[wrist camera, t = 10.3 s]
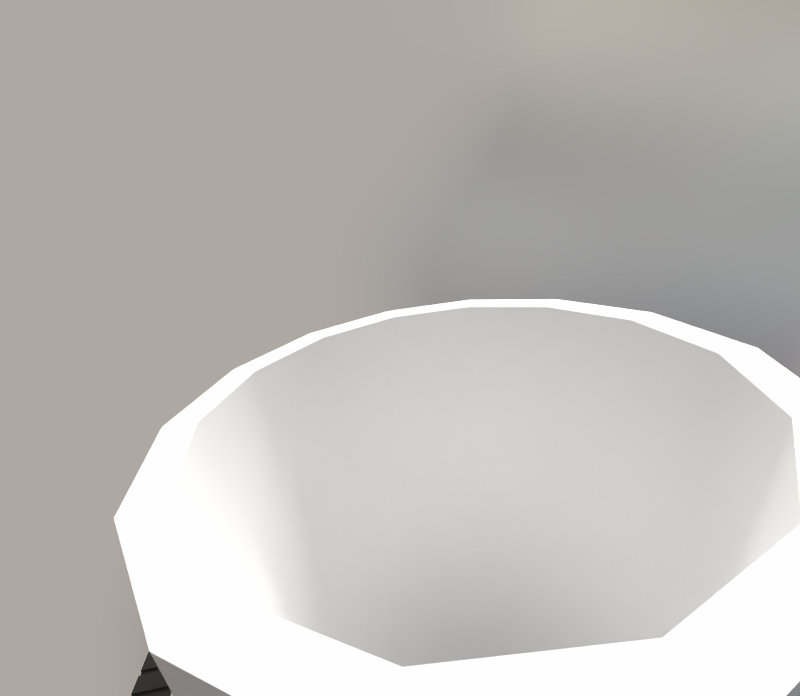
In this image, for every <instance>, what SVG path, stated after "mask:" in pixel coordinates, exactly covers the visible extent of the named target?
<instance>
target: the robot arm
mask: <svg viewBox="0 0 800 696" xmlns="http://www.w3.org/2000/svg"><path fill="white" fill-rule="evenodd" d="M132 696H174V695H173V693H172V692H171V690H170V688H169V686H168V684H167V683H166V681H165V679H164V677H163V675H162V673H161V672H160V670H159V668H158V666H157V664H156V663H155V661H154V659H153V657H152V655H151V653H150V651H149V653H148V655H147V658H146V660H145V662H144V665H143V667H142V670H141V676H139V677H138V679H137V682H136V684H135V687H134V689H133V691H132Z"/></svg>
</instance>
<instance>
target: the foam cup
mask: <svg viewBox="0 0 800 696" xmlns="http://www.w3.org/2000/svg"><path fill="white" fill-rule="evenodd" d="M114 521H115V525H116V528H117V532H118V536H119V539H120V543H121V547H122V551H123V554H124V558H125V562H126V565H127V569H128V572H129V577H130V580H131V584H132V588H133V592H134V595H135V599H136V603H137V607H138V610H139V614H140V617H141V622H142V625H143V628H144V633H145V636H146V640H147V644H148V647H149V651H150V653H151V655H152V657H153V659H154V661H155V663H156V664H157V666H158V668H159V670H160V672H161V673H162V675H163V677H164V679H165V681H166V683H167V684H168V686H169V688H170V690H171V692H172V693H173V695H174V696H800V378H799V377H797V376H796V375H795V374H793V373H792V372H790V371H789V370H787V369H786V368H785V367H783V366H782V365H780V364H779V363H778V362H777V361H775V360H773V359H772V358H771V357H770V356H768V355H767V354H765V353H764V352H763V351H761V350H760V349H759V348H756V347H754V346H751V345H748V344H744V343H742V342H738V341H736V340H733V339H730V338H726V337H723V336H721V335H718V334H715V333H712V332H709V331H706V330H703V329H700V328H697V327H694V326H691V325H688V324H685V323H682V322H679V321H676V320H673V319H670V318H667V317H664V316H661V315H658V314H655V313H652V312H646V311H638V310H631V309H624V308H617V307H609V306H602V305H595V304H587V303H580V302H573V301H566V300H559V299H520V300H519V299H517V300H516V299H506V300H464V301H457V302H450V303H442V304H436V305H428V306H421V307H414V308H406V309H399V310H393V311H387V312H383V313H380V314H376V315H373V316H369V317H366V318H362V319H359V320H355V321H351V322H348V323H345V324H341V325H337V326H334V327H330V328H327V329H323V330H320V331H316V332H313V333H310V334H308V335H305V336H303V337H301V338H299V339H297V340H295V341H292V342H290V343H288V344H286V345H284V346H282V347H280V348H278V349H276V350H273V351H271V352H269V353H267V354H265V355H263V356H261V357H259V358H256V359H254V360H252V361H250V362H248V363H246V364H244V365H242V366H240V367H237V368H235V369H234V370H232V371H231V372H230V373H228V374H227V375H226V376H225V377H223V378H222V379H221V380H220V381H218V382H217V383H216V384H215V385H213V386H212V387H211V388H210V389H209V390H207V391H206V392H205V393H203V394H202V395H201V396H200V397H199V398H198V399H196V400H195V401H194V402H192V403H191V404H190V405H189V406H187V407H186V408H185V409H184V410H182V411H181V412H180V413H179V414H177V415H176V416H175V417H174V418H172V419H171V420H170V421H169V422H168V423H166V424H165V425H164V426H163V427H162V428H161V430H160V431H159V434H158V435H157V437H156V439H155V441H154V443H153V445H152V447H151V449H150V450H149V452H148V454H147V456H146V458H145V460H144V462H143V464H142V466H141V468H140V470H139V471H138V473H137V475H136V477H135V479H134V481H133V483H132V485H131V487H130V488H129V490H128V492H127V494H126V496H125V498H124V500H123V502H122V504H121V506H120V508H119V509H118V511H117V513H116V515H115V517H114Z"/></svg>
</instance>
